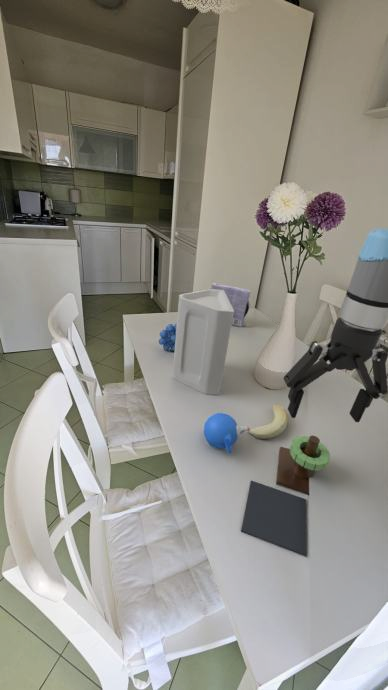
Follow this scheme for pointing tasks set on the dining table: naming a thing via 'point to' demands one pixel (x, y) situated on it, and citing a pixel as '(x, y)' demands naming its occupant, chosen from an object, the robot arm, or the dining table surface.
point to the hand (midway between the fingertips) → (322, 415)
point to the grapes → (168, 337)
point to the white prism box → (202, 339)
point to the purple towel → (236, 301)
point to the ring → (304, 459)
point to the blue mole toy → (222, 431)
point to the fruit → (272, 425)
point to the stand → (296, 468)
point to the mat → (276, 517)
